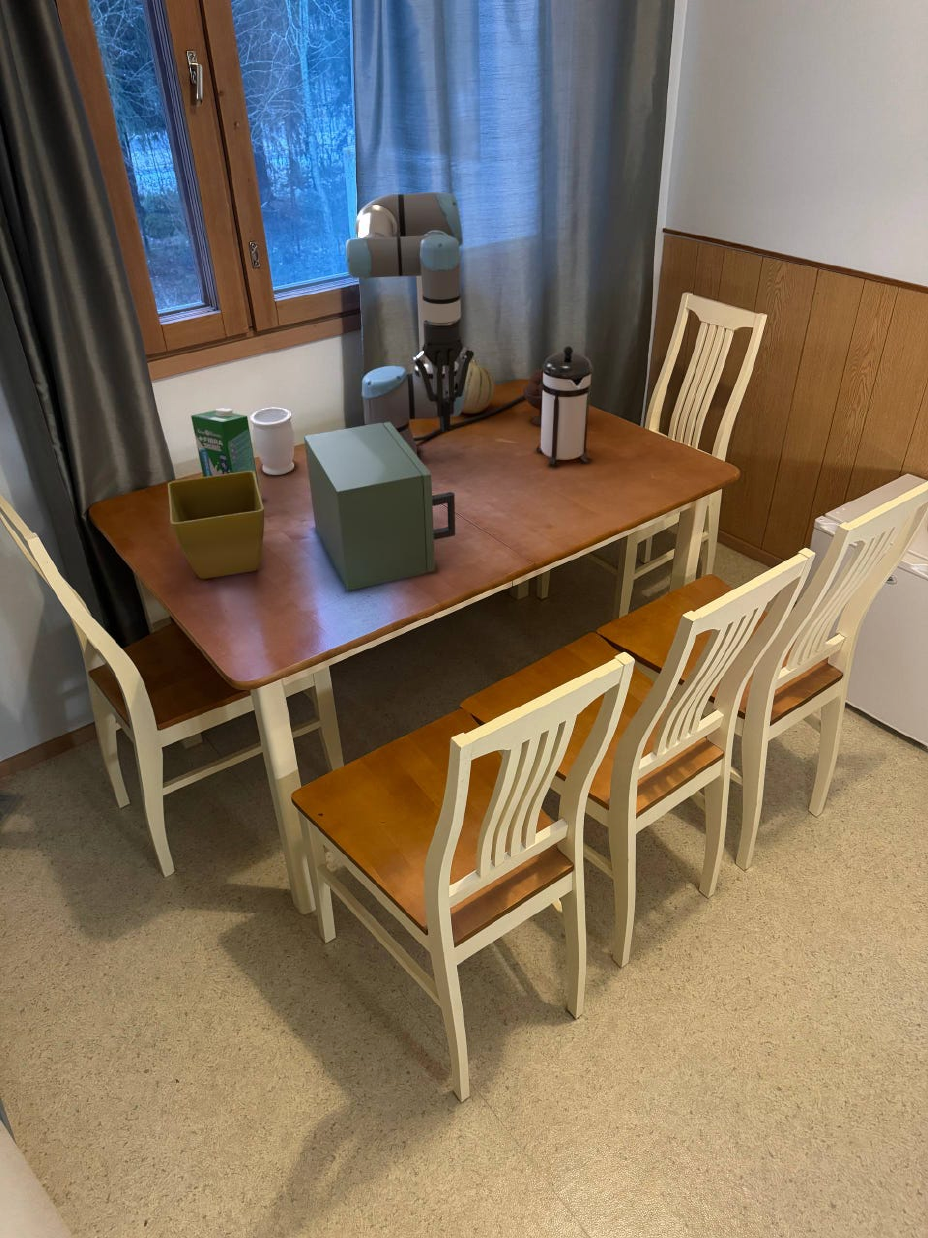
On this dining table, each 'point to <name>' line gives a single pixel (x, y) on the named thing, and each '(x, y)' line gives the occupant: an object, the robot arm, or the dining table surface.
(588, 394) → the coffee press
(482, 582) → the dining table surface
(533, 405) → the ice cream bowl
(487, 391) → the cantaloupe
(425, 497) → the cupboard door
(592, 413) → the dining table surface
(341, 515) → the cupboard
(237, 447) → the milk carton
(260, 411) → the jar
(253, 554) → the flower pot
